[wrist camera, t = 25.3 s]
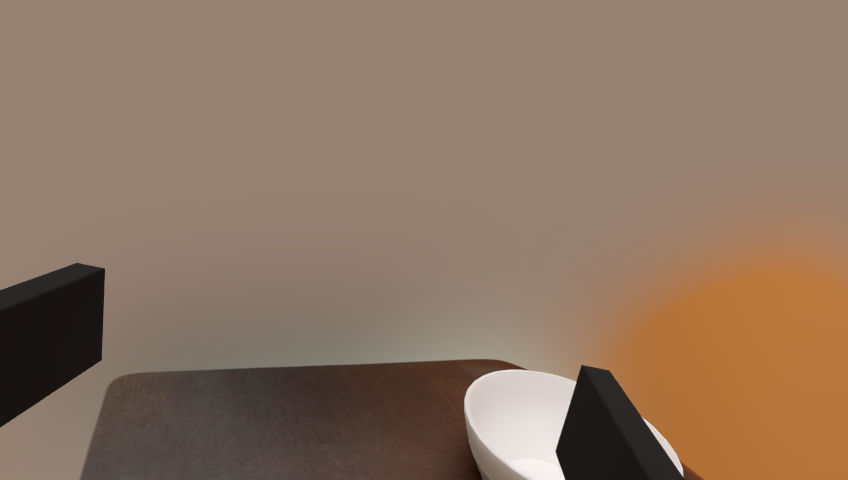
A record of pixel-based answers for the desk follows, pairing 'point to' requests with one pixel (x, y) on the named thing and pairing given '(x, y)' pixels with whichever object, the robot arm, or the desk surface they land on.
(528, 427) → the bowl
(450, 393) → the desk surface
